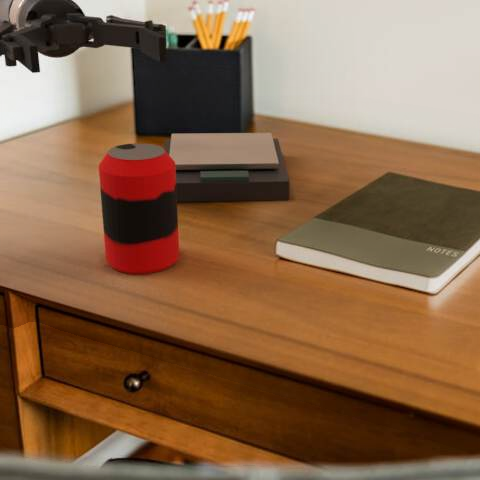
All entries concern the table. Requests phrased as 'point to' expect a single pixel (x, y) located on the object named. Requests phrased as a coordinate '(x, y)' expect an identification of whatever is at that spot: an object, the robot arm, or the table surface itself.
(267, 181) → the scale
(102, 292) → the table surface
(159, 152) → the soda can
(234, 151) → the scale platter
